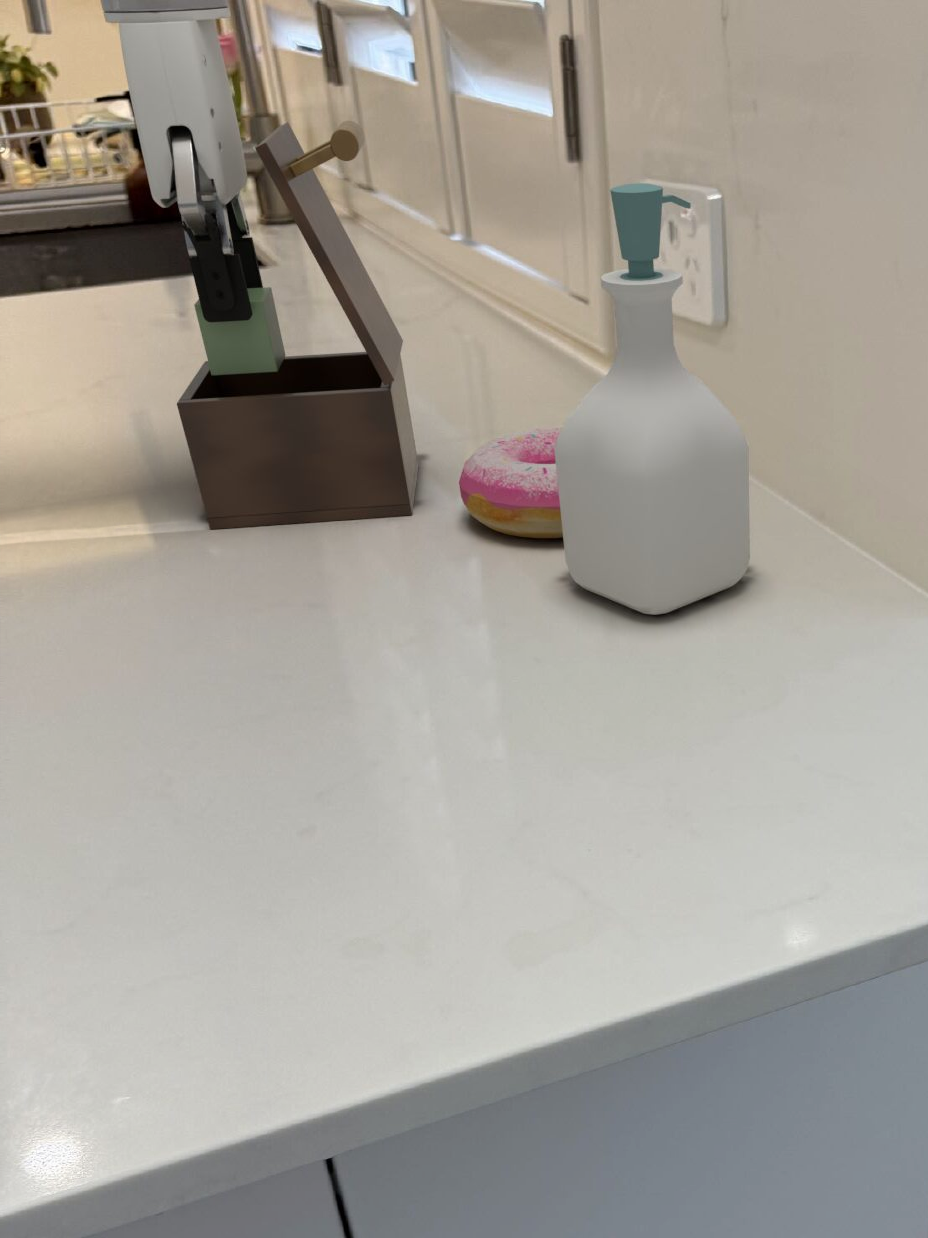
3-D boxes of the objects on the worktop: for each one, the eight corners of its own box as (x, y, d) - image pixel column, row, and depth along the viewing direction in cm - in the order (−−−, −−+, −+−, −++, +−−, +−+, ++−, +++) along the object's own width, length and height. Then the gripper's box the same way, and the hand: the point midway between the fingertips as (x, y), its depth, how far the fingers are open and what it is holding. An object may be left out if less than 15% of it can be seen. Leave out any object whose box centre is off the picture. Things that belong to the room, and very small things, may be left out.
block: (211, 375, 93) (193, 304, 90) (221, 359, 97) (205, 290, 94) (277, 372, 94) (262, 301, 91) (285, 356, 97) (271, 287, 94)
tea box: (209, 529, 96) (176, 403, 91) (234, 478, 105) (204, 361, 100) (412, 515, 98) (390, 390, 92) (418, 466, 107) (399, 349, 101)
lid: (254, 148, 83) (333, 107, 82) (278, 127, 92) (348, 90, 91) (384, 385, 92) (456, 351, 91) (394, 345, 101) (459, 313, 100)
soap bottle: (763, 585, 86) (761, 181, 72) (653, 631, 80) (627, 205, 66) (664, 548, 91) (643, 167, 77) (555, 589, 86) (512, 188, 72)
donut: (518, 478, 104) (510, 411, 101) (675, 494, 100) (672, 425, 97) (432, 538, 94) (420, 466, 91) (603, 557, 90) (597, 484, 87)
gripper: (129, -11, 88) (202, 288, 99) (65, -1, 75) (157, 343, 86) (244, -14, 89) (303, 283, 100) (201, -6, 75) (275, 336, 87)
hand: (235, 307), depth 93 cm, fingers open, 5 cm apart
